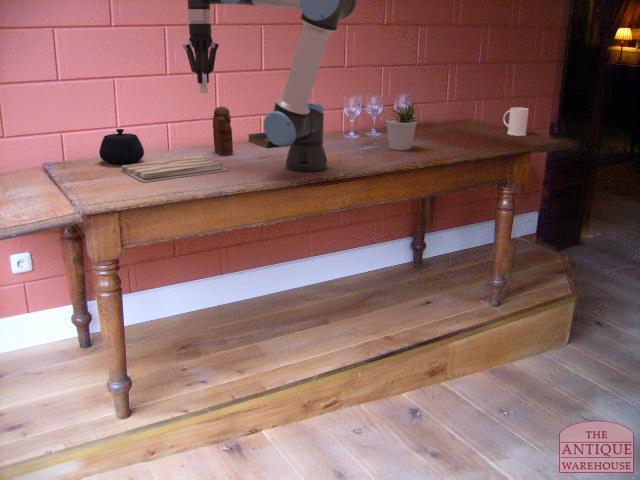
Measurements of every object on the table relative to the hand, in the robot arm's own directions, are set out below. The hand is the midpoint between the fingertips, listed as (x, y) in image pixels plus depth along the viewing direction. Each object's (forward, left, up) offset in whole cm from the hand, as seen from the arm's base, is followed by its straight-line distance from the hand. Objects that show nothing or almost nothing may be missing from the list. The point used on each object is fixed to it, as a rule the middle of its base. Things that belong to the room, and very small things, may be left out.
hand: (203, 92), depth 233 cm
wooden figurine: (+13, -14, -26) cm, 32 cm away
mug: (-21, -149, -26) cm, 152 cm away
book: (+19, -46, -26) cm, 56 cm away
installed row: (+1, +15, -25) cm, 29 cm away
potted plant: (-19, -79, -26) cm, 85 cm away
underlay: (-5, +15, -25) cm, 30 cm away
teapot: (+17, +25, -26) cm, 40 cm away
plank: (-8, +15, -25) cm, 30 cm away
